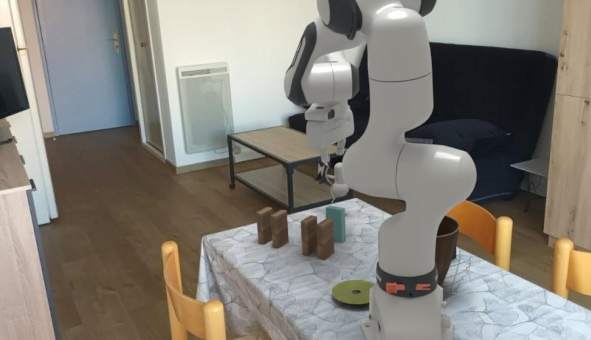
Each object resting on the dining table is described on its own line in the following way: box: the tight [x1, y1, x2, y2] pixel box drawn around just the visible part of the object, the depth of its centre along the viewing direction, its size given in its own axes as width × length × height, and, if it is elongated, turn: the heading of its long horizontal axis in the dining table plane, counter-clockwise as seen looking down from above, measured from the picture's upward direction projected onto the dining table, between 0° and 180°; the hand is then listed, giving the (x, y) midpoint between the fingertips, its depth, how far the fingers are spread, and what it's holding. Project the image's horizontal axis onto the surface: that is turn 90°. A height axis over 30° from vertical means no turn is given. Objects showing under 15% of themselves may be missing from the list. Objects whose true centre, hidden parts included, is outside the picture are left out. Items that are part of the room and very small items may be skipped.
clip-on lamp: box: [314, 157, 350, 216], centre depth 180 cm, size 12×6×18 cm, turn 44°
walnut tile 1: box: [255, 206, 274, 246], centre depth 163 cm, size 2×5×10 cm, turn 145°
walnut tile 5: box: [316, 217, 335, 261], centre depth 151 cm, size 2×5×10 cm, turn 145°
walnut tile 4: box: [300, 214, 318, 257], centre depth 154 cm, size 2×5×10 cm, turn 145°
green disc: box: [331, 279, 376, 305], centre depth 130 cm, size 11×11×2 cm
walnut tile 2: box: [270, 209, 290, 249], centre depth 160 cm, size 2×5×10 cm, turn 145°
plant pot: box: [435, 214, 461, 287], centre depth 132 cm, size 15×15×16 cm
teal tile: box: [325, 204, 347, 244], centre depth 161 cm, size 2×5×10 cm, turn 55°
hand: (333, 158), depth 156 cm, fingers open, 7 cm apart
